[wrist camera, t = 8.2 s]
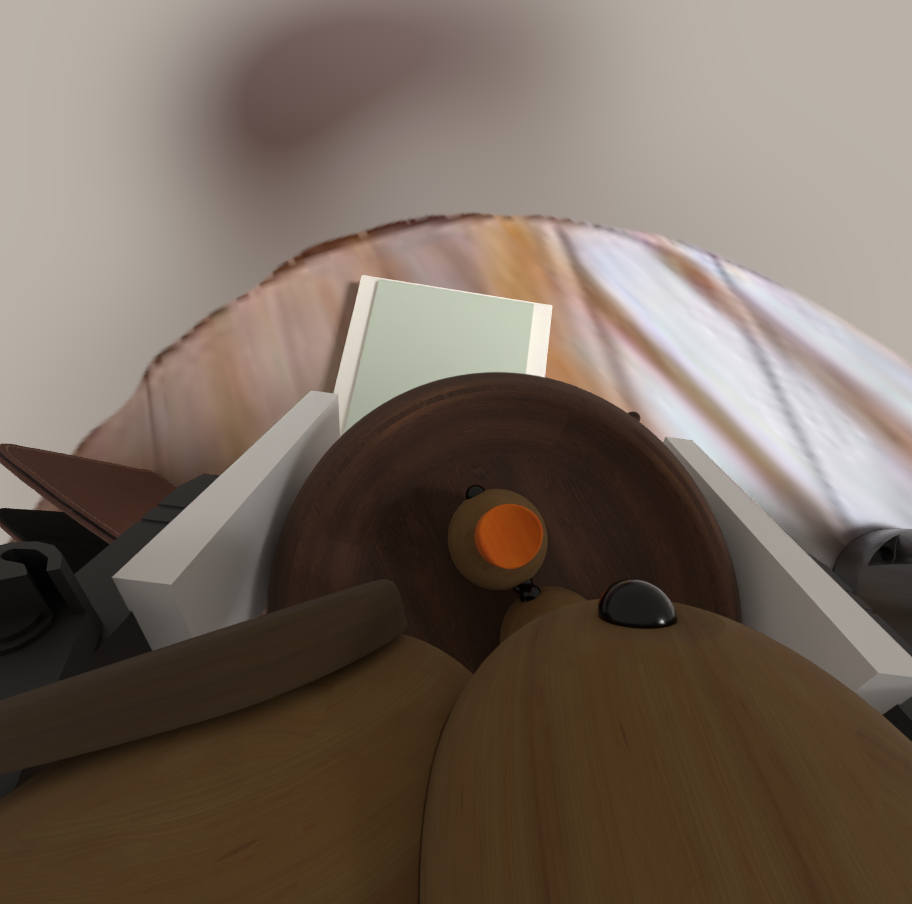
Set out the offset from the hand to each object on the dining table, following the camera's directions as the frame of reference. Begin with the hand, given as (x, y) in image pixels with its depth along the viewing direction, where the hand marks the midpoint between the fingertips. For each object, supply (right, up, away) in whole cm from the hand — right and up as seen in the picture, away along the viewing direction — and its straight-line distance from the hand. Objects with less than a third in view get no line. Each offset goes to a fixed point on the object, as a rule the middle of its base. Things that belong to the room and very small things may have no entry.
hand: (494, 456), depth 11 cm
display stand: (-3, +7, +28) cm, 28 cm away
